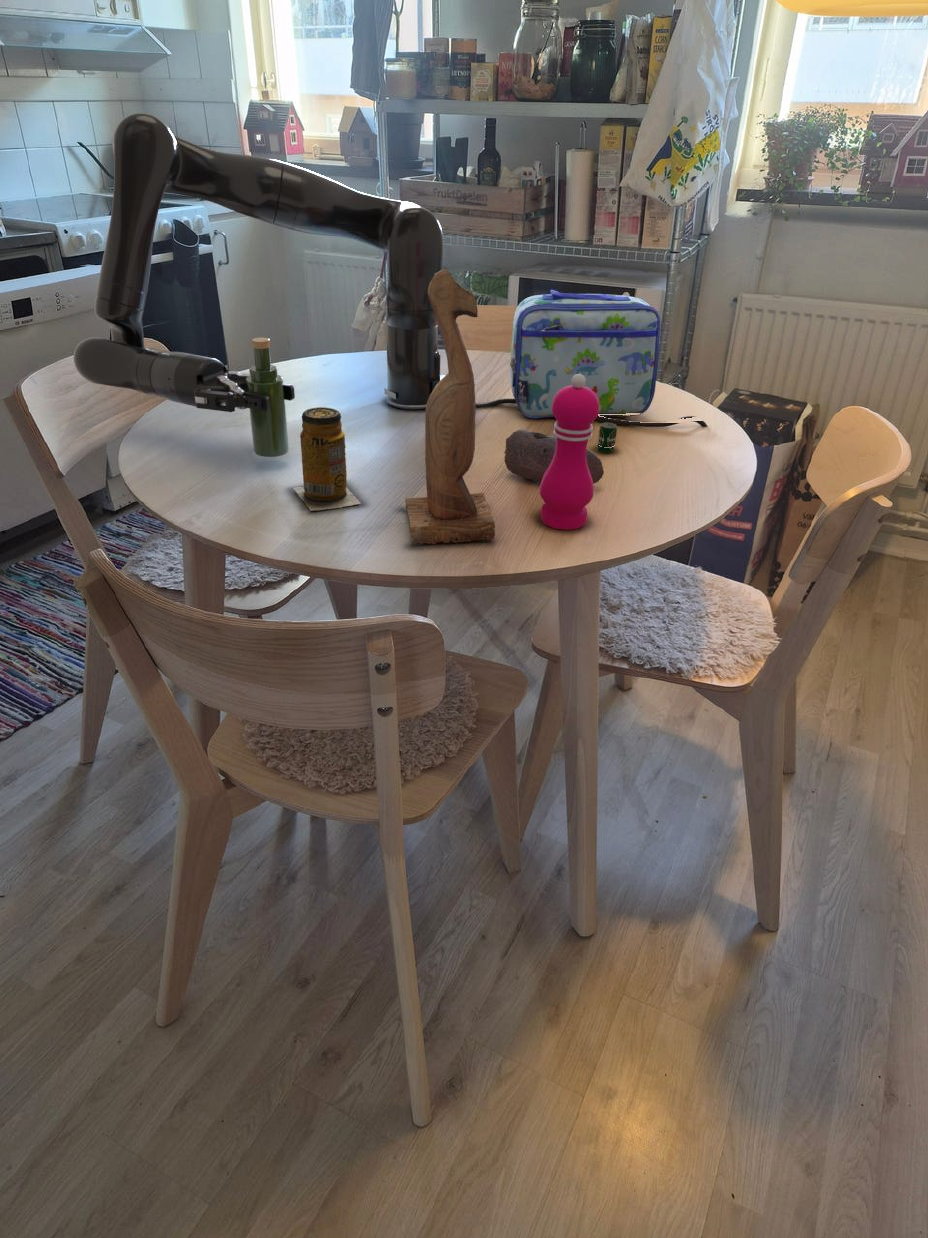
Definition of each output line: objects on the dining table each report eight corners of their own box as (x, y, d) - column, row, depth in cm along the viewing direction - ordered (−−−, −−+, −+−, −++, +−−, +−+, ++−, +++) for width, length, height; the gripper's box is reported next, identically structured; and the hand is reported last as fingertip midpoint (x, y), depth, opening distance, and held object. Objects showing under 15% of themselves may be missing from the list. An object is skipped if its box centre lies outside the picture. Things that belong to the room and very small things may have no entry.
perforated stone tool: (605, 484, 124) (611, 440, 120) (596, 497, 119) (602, 452, 116) (512, 466, 128) (515, 423, 125) (500, 478, 124) (503, 434, 121)
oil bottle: (287, 443, 127) (278, 334, 118) (290, 456, 123) (280, 343, 114) (253, 445, 126) (241, 335, 117) (254, 458, 122) (241, 344, 113)
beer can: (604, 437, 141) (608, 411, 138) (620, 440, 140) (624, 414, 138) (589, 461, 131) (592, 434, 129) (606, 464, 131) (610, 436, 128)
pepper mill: (533, 509, 115) (545, 365, 105) (583, 508, 116) (601, 366, 105) (541, 532, 109) (555, 382, 99) (594, 531, 110) (614, 382, 99)
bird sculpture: (500, 541, 107) (517, 279, 89) (411, 547, 104) (411, 279, 87) (481, 505, 116) (493, 261, 99) (399, 510, 113) (396, 261, 96)
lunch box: (508, 420, 147) (516, 297, 135) (504, 401, 156) (511, 284, 144) (652, 424, 148) (672, 302, 136) (640, 405, 157) (658, 289, 145)
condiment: (341, 482, 121) (337, 402, 115) (361, 504, 115) (358, 421, 108) (293, 489, 118) (286, 407, 112) (310, 512, 112) (304, 427, 105)
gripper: (151, 366, 117) (246, 385, 111) (218, 344, 128) (308, 360, 122) (160, 417, 121) (252, 438, 115) (224, 391, 132) (311, 409, 126)
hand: (280, 398), depth 119 cm, fingers closed on oil bottle, 5 cm apart
